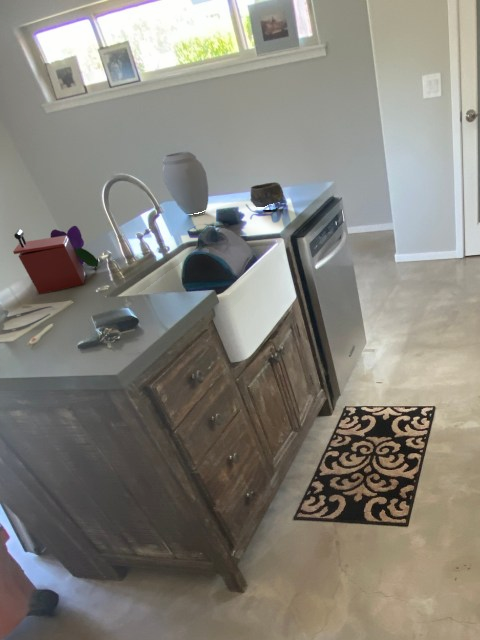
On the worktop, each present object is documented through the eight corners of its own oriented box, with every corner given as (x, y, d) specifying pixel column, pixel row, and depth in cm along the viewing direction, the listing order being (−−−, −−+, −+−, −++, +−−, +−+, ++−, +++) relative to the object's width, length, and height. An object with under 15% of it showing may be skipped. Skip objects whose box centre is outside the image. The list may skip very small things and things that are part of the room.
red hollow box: (39, 294, 177) (18, 256, 169) (43, 283, 187) (24, 246, 179) (83, 284, 180) (64, 246, 172) (85, 274, 190) (68, 237, 182)
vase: (223, 207, 255) (206, 148, 238) (207, 217, 240) (188, 155, 224) (187, 211, 258) (168, 152, 242) (169, 221, 244) (148, 160, 228)
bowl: (286, 210, 232) (280, 185, 225) (252, 216, 231) (245, 190, 225) (286, 204, 242) (281, 179, 236) (254, 209, 242) (247, 185, 235)
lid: (14, 254, 169) (5, 237, 165) (20, 245, 178) (12, 228, 175) (64, 246, 172) (57, 229, 169) (68, 237, 182) (61, 221, 179)
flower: (112, 275, 204) (81, 258, 204) (110, 238, 193) (78, 220, 192) (85, 288, 194) (53, 271, 194) (81, 250, 183) (47, 232, 183)
